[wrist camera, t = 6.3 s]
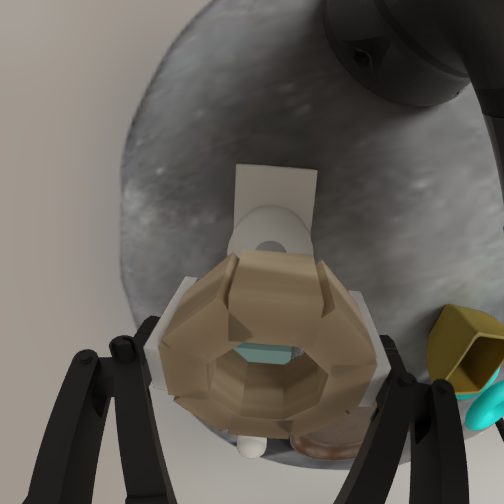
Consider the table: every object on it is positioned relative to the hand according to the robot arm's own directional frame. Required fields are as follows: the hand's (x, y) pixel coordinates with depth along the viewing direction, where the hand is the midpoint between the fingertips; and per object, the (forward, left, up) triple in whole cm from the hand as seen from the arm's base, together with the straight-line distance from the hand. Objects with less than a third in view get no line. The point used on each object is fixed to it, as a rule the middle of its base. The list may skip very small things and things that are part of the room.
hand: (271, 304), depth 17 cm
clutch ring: (0, 0, +3) cm, 3 cm away
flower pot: (+9, +24, -12) cm, 28 cm away
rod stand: (0, 0, -11) cm, 11 cm away
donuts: (+19, +35, -12) cm, 41 cm away
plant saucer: (+29, +16, -12) cm, 35 cm away
